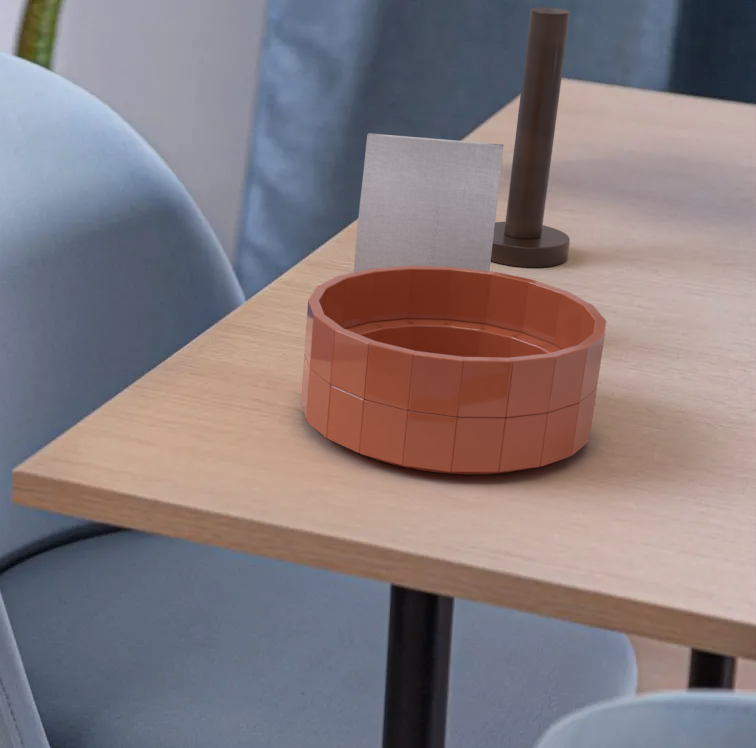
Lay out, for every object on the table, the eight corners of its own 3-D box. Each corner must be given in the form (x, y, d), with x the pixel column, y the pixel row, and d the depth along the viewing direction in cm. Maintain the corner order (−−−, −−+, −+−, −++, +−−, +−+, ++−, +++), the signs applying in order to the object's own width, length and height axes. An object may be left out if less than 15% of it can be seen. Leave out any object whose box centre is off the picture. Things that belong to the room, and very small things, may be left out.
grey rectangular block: (480, 348, 90) (502, 154, 86) (348, 336, 91) (364, 142, 86) (481, 325, 93) (503, 137, 89) (354, 313, 94) (370, 126, 90)
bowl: (494, 363, 88) (507, 257, 86) (646, 464, 77) (665, 345, 75) (256, 389, 83) (263, 277, 81) (382, 499, 72) (394, 373, 70)
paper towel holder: (535, 237, 109) (565, 1, 103) (585, 264, 105) (620, 18, 98) (456, 243, 107) (482, 2, 101) (504, 270, 102) (534, 20, 96)
